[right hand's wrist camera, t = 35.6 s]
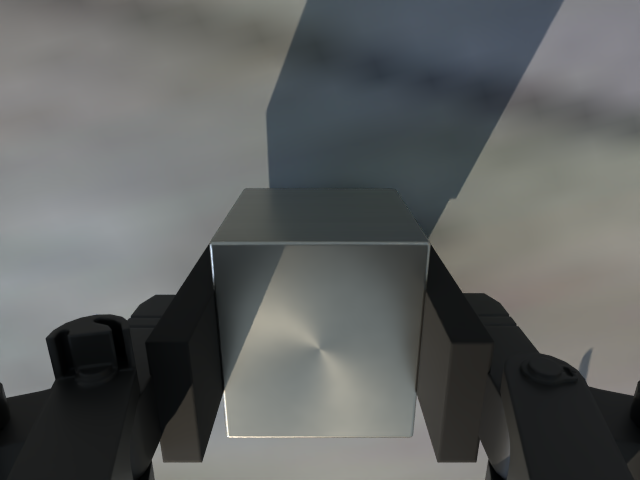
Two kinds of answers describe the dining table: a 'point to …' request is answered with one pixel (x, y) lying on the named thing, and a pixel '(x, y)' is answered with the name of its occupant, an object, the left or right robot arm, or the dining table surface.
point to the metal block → (319, 313)
